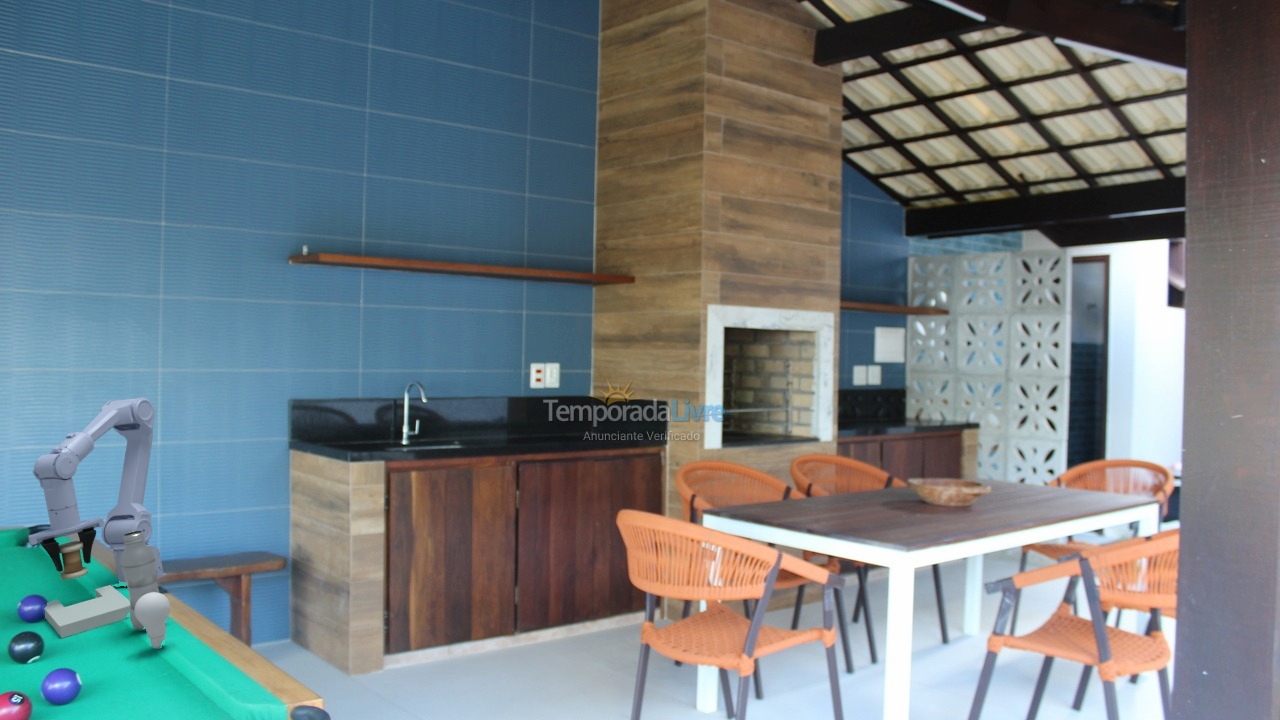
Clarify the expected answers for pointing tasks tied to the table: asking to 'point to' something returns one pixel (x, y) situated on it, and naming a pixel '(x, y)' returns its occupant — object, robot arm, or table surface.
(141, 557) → the plastic bottle
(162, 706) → the table surface
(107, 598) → the notched board
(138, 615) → the lightbulb
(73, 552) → the bobbin
